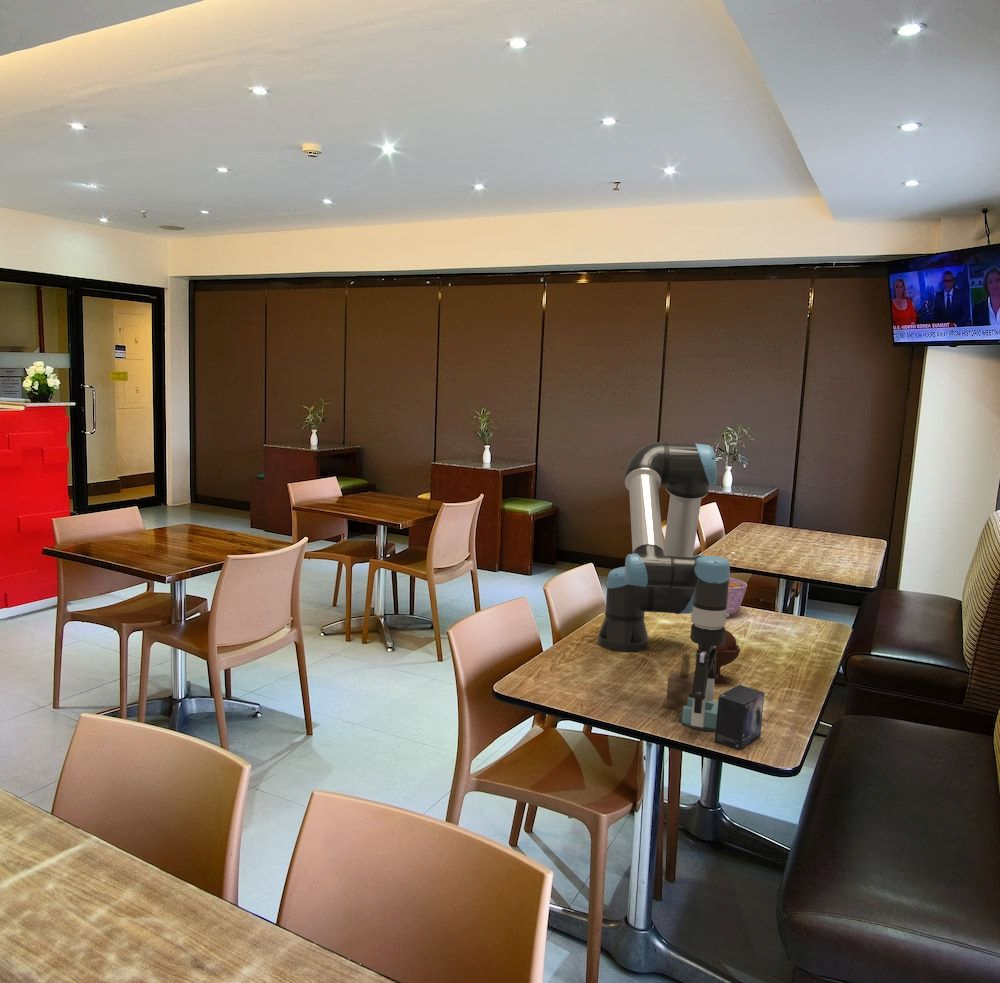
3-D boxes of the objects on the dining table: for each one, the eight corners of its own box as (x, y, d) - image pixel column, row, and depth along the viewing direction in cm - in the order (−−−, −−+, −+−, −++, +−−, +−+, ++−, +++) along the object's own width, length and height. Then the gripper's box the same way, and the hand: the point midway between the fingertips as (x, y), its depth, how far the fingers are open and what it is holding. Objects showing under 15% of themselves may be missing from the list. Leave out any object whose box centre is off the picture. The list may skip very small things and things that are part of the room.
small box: (741, 751, 166) (745, 703, 165) (713, 741, 171) (716, 695, 170) (762, 737, 174) (766, 691, 173) (734, 728, 179) (738, 683, 177)
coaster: (675, 725, 178) (675, 723, 178) (683, 710, 187) (683, 708, 187) (720, 734, 174) (721, 732, 174) (726, 718, 184) (726, 716, 184)
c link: (681, 722, 179) (682, 707, 178) (687, 711, 186) (688, 696, 185) (715, 729, 176) (716, 714, 176) (720, 717, 183) (721, 702, 182)
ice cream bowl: (715, 689, 202) (719, 633, 201) (686, 675, 212) (690, 621, 210) (746, 684, 207) (750, 628, 206) (716, 670, 217) (720, 617, 215)
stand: (662, 706, 189) (665, 656, 188) (669, 695, 197) (672, 647, 195) (696, 713, 186) (699, 662, 185) (701, 701, 194) (705, 652, 192)
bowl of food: (688, 618, 269) (690, 585, 268) (684, 604, 289) (686, 573, 288) (748, 623, 266) (751, 590, 265) (740, 608, 286) (743, 577, 284)
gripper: (717, 642, 165) (710, 738, 168) (732, 614, 188) (725, 699, 191) (681, 636, 168) (675, 731, 171) (700, 610, 191) (694, 694, 194)
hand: (702, 715), depth 181 cm, fingers open, 13 cm apart
